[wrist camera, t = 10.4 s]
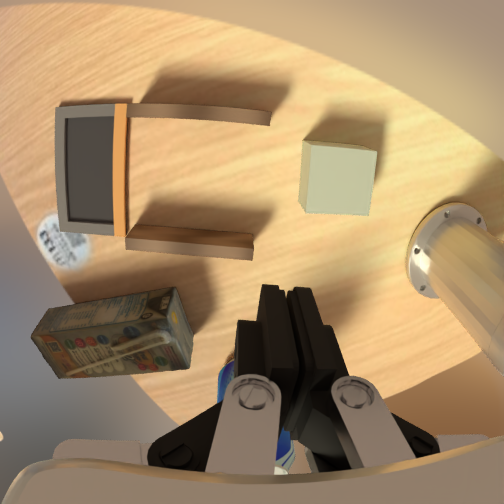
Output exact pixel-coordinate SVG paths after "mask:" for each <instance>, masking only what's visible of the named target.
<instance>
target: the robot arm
mask: <svg viewBox="0 0 504 504" xmlns="http://www.w3.org/2000/svg"><path fill="white" fill-rule="evenodd" d="M406 271H407V276H408V278H409V281H410V283H411V284H412V286H413V287H414V288H415V289H416V291H417V292H418V293H420V294H421V295H423V296H425V297H428V298H434V299H439V298H440V299H441V300H442V301H443V302H444V304H445V305H446V306H447V307H448V308H449V310H450V311H451V312H452V313H453V314H454V316H455V317H456V318H457V319H458V320H459V322H460V323H461V324H462V325H463V327H464V328H465V329H466V330H467V332H468V333H469V334H470V335H471V337H472V338H473V339H474V340H475V342H476V343H477V344H478V346H479V347H480V348H481V350H482V351H483V352H484V353H485V355H486V356H487V357H488V358H489V360H490V361H491V363H492V364H493V365H494V366H495V368H496V369H497V370H498V371H499V373H500V374H502V375H503V376H504V243H503V242H501V241H500V240H498V239H497V238H496V237H494V236H493V235H491V234H490V233H488V231H487V226H486V223H485V221H484V218H483V217H482V215H481V214H480V213H479V212H478V211H477V210H476V209H475V208H473V207H471V206H469V205H468V204H465V203H461V202H452V203H448V204H444V205H442V206H440V207H438V208H436V209H435V210H434V211H432V212H431V213H430V214H429V215H428V216H427V217H426V218H425V219H424V220H423V221H422V222H421V223H420V225H419V226H418V228H417V229H416V230H415V232H414V234H413V236H412V238H411V241H410V244H409V246H408V250H407V255H406ZM283 428H284V431H289V432H290V440H298V441H299V442H300V443H301V444H303V445H304V446H305V455H306V458H307V461H308V464H309V467H310V470H311V473H307V474H283V475H274V471H275V461H276V451H277V442H278V440H279V437H280V434H281V431H282V429H283ZM2 504H504V436H500V437H495V438H491V439H489V438H488V437H486V436H484V435H480V434H478V435H477V434H475V435H437V436H436V437H435V438H434V437H433V436H432V435H430V434H429V433H427V432H426V431H424V430H422V429H420V428H418V427H416V426H415V425H413V424H411V423H409V422H407V421H405V420H403V419H402V418H400V417H398V416H396V415H395V414H393V413H391V412H390V411H389V409H388V408H387V406H386V404H385V402H384V401H383V399H382V397H381V396H380V394H379V392H378V390H377V389H376V388H375V386H374V385H373V384H372V383H370V382H369V381H368V380H365V379H363V378H361V377H356V376H349V374H348V371H347V368H346V365H345V362H344V359H343V356H342V353H341V351H340V348H339V345H338V342H337V339H336V336H335V334H334V331H333V328H332V327H331V326H330V325H323V323H322V320H321V317H320V314H319V311H318V308H317V305H316V302H315V299H314V296H313V293H312V290H311V288H305V287H294V289H293V291H290V290H289V291H288V292H287V297H286V296H285V291H284V290H279V286H278V285H267V284H262V287H261V293H260V300H259V306H258V313H257V320H256V321H249V320H238V322H237V330H236V339H235V352H234V379H233V380H232V381H231V382H230V383H229V384H228V386H227V388H226V392H225V396H224V399H223V400H222V401H220V402H219V403H217V404H215V405H214V406H212V407H211V408H209V409H207V410H206V411H204V412H203V413H201V414H199V415H198V416H196V417H194V418H193V419H191V420H189V421H188V422H186V423H184V424H183V425H181V426H179V427H178V428H176V429H174V430H172V431H171V432H169V433H167V434H165V435H164V436H162V437H160V438H158V439H157V440H156V441H155V442H153V443H145V444H140V442H139V441H111V440H84V439H70V440H66V441H64V442H62V443H60V444H59V445H58V446H57V447H56V448H55V451H54V454H53V459H51V460H46V461H41V462H37V463H35V464H31V465H29V466H28V467H26V468H25V469H24V470H22V471H21V472H20V473H19V474H18V475H17V477H16V478H15V479H14V481H13V482H12V484H11V486H10V487H9V489H8V491H7V493H6V495H5V497H4V499H3V501H2Z"/></svg>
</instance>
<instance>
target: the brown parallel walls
mask: <svg viewBox="0 0 504 504" xmlns="http://www.w3.org/2000/svg"><path fill="white" fill-rule="evenodd" d="M126 117H144V118H179V119H198V120H213V121H226V122H237V123H247V124H256V125H265V126H270V120H271V112H268V111H260V110H252V109H242V108H231V107H219V106H205V105H187V104H153V103H134V104H127V111H126ZM125 245H126V250H136V251H147V252H159V253H170V254H181V255H193V256H204V257H216V258H228V259H239V260H251V261H252V260H253V252H254V245H253V236H252V234H246V233H234V232H223V231H211V230H199V229H187V228H175V227H162V226H150V225H137V224H135V226H134V227H133V228H132V230H131V231H130V232H129V233H128V235H127V236H126V237H125Z"/></svg>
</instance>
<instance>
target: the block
mask: <svg viewBox="0 0 504 504" xmlns="http://www.w3.org/2000/svg"><path fill="white" fill-rule="evenodd" d="M376 158H377V151H375V150H372V149H370V148H367V147H364V146H361V145H352V144H343V143H332V142H321V141H308V140H303V141H302V156H301V171H300V184H299V197H298V201H299V203H300V204H301V206H302V208H303V209H304V211H305V213H314V214H340V215H361V216H369V210H370V204H371V197H372V190H373V183H374V175H375V167H376Z"/></svg>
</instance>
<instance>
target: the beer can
mask: <svg viewBox="0 0 504 504" xmlns="http://www.w3.org/2000/svg"><path fill="white" fill-rule="evenodd" d="M233 379H234V359H232V360H231V361H230V362H228V363H227V364H226V365H225V366H224V367H223V368H222V369H221V371H220V373H219V376H218V395H217V403H219V402H220V401H222V400H223V399H224V396H225V392H226V388H227V386H228V384H229V383H230V382H231V381H232V380H233ZM294 459H295V450H294V444H293V440H290V432H289V431H284V428H283V429H282V431H281V434H280V437H279V440H278V442H277V451H276V461H275V471H274V475H283V474H289V472H288V471H289V469H290V467H291V465H292V464H293V462H294Z"/></svg>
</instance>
